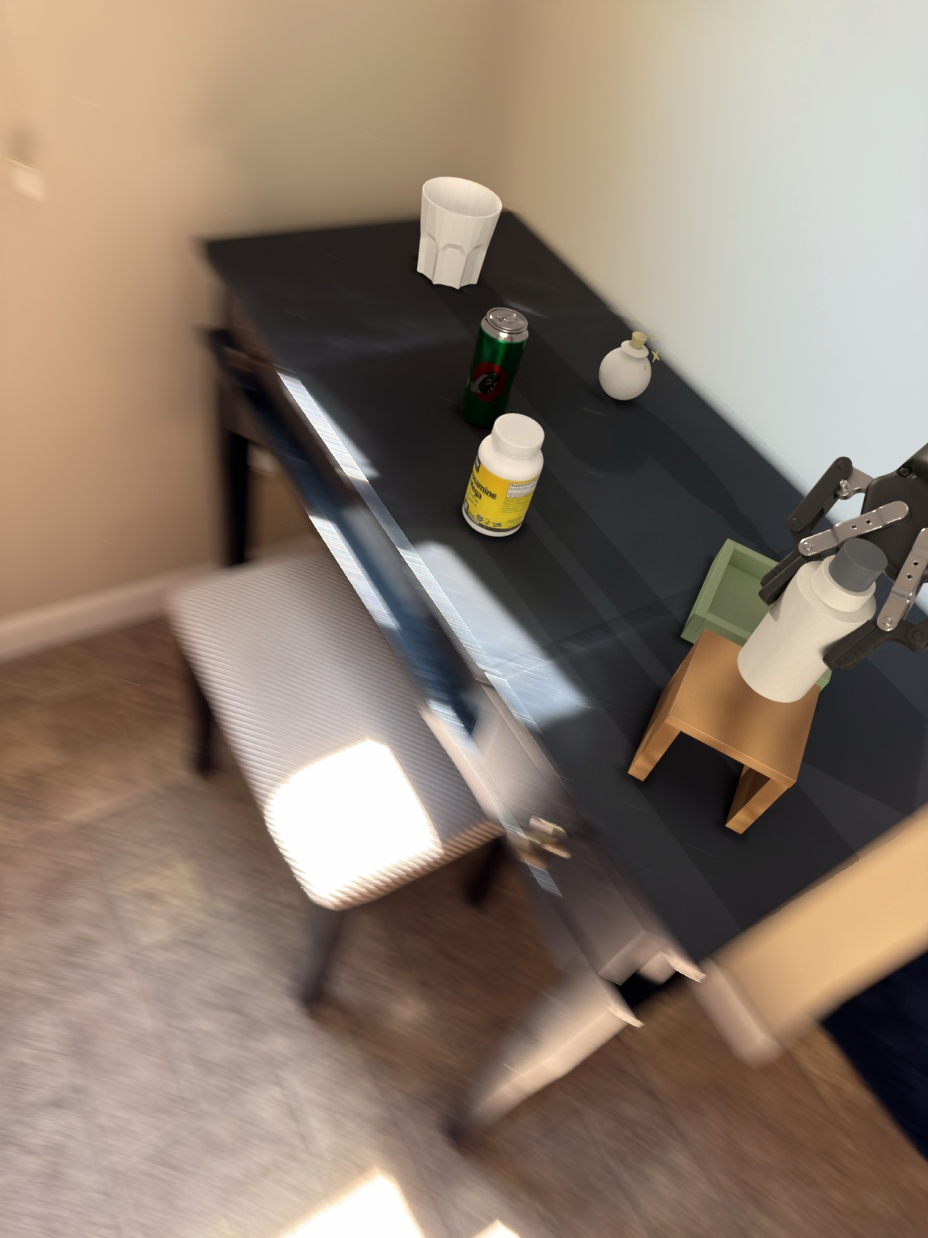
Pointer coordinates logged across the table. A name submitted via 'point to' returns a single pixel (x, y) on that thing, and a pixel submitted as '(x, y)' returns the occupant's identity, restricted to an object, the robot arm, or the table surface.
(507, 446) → the pill bottle
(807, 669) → the white bottle
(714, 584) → the sage green tray
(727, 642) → the wooden stand
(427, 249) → the cup
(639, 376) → the round potion bottle
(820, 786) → the table surface
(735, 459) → the table surface
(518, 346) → the soda can
